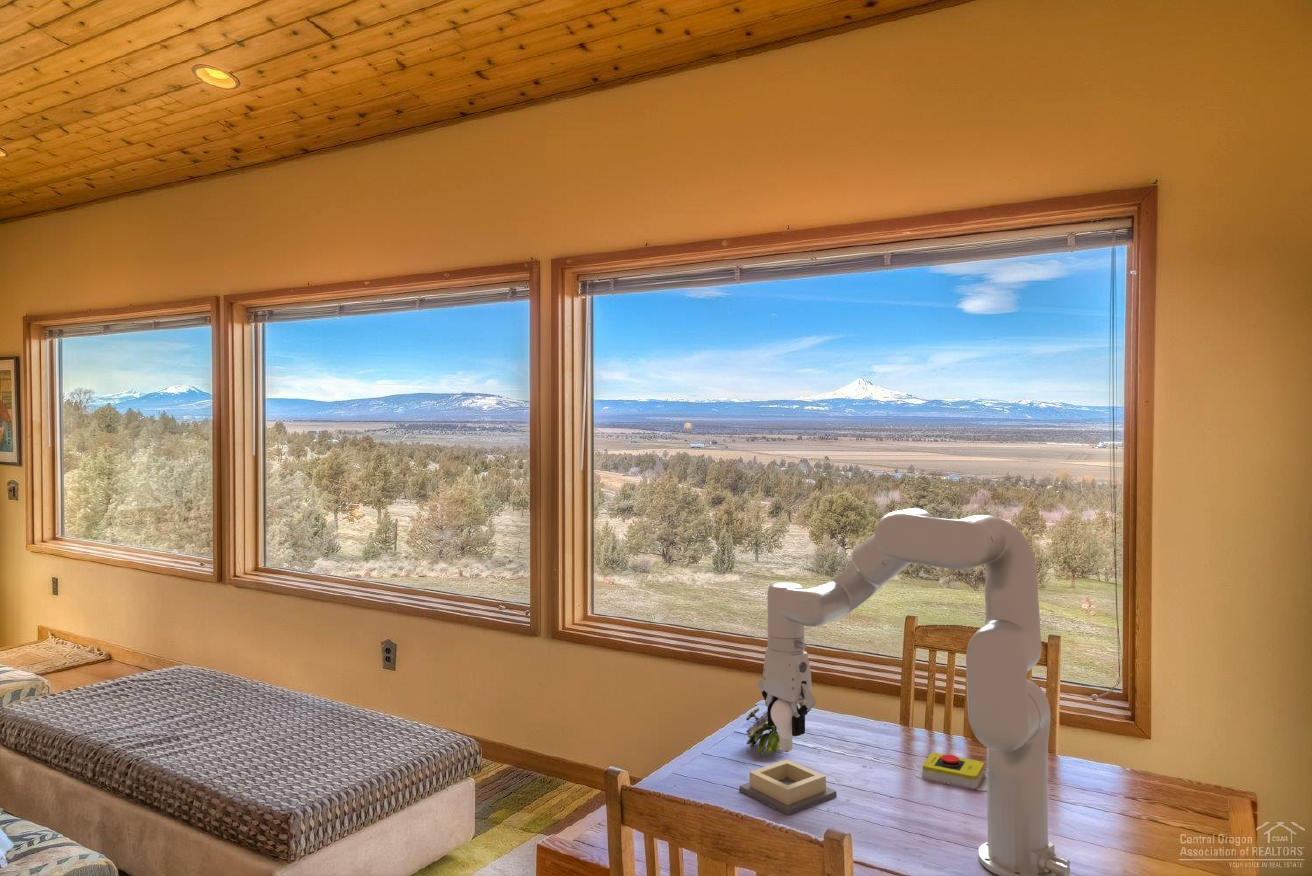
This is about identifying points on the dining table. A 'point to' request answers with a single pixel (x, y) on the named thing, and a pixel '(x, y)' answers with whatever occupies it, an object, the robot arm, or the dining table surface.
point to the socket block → (787, 786)
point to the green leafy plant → (757, 731)
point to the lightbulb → (783, 722)
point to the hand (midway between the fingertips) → (786, 729)
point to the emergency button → (954, 771)
